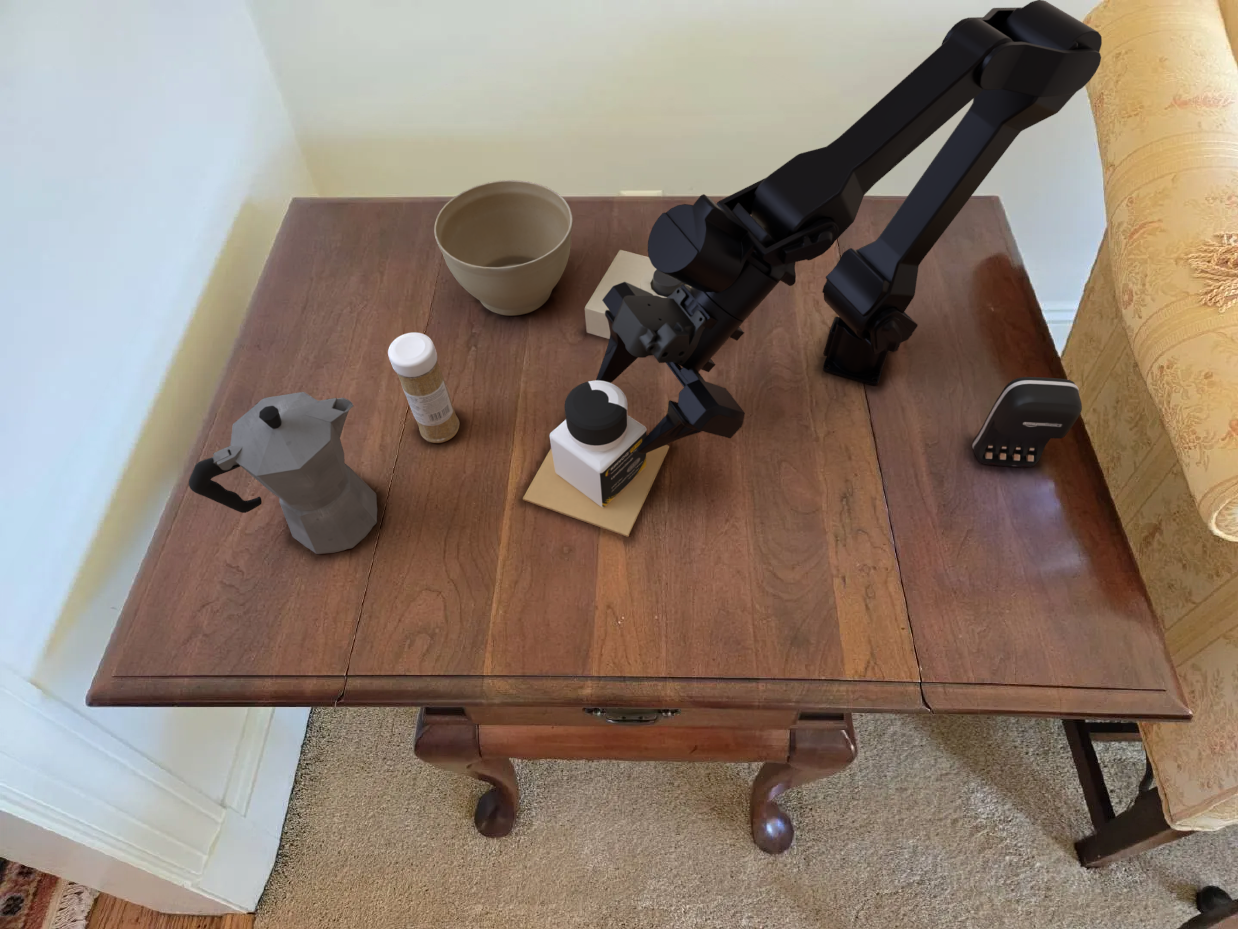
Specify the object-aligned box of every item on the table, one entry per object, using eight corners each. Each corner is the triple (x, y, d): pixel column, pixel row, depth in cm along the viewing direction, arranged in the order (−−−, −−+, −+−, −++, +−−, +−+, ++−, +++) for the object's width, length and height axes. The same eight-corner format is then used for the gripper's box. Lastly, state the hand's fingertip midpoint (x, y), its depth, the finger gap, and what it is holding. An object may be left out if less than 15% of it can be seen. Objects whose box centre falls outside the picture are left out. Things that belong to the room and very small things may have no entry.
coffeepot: (376, 457, 86) (320, 345, 71) (412, 518, 81) (360, 412, 66) (240, 525, 81) (149, 421, 66) (270, 594, 77) (179, 499, 62)
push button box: (715, 300, 98) (719, 263, 93) (686, 361, 92) (688, 326, 87) (620, 274, 101) (619, 237, 96) (586, 332, 95) (583, 296, 90)
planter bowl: (603, 293, 99) (600, 224, 90) (500, 356, 93) (485, 289, 84) (529, 231, 106) (518, 161, 97) (428, 286, 100) (408, 217, 91)
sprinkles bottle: (454, 408, 89) (428, 325, 78) (464, 438, 87) (437, 357, 76) (415, 419, 88) (383, 337, 77) (424, 450, 86) (391, 370, 75)
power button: (687, 280, 92) (688, 269, 90) (677, 300, 90) (678, 289, 89) (659, 273, 93) (659, 261, 91) (648, 292, 91) (648, 281, 89)
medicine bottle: (603, 510, 81) (598, 442, 71) (554, 473, 83) (542, 403, 73) (647, 466, 83) (648, 396, 74) (598, 432, 86) (592, 359, 76)
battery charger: (973, 470, 83) (1016, 404, 73) (968, 441, 85) (1009, 373, 75) (1041, 475, 82) (1093, 408, 73) (1034, 446, 84) (1084, 377, 75)
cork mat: (669, 448, 85) (669, 445, 85) (628, 537, 79) (628, 535, 79) (570, 416, 88) (569, 414, 88) (523, 500, 82) (522, 498, 82)
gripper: (617, 211, 70) (521, 340, 76) (727, 346, 60) (607, 480, 67) (689, 250, 78) (597, 363, 85) (795, 375, 69) (683, 491, 75)
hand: (618, 419), depth 78 cm, fingers open, 9 cm apart
